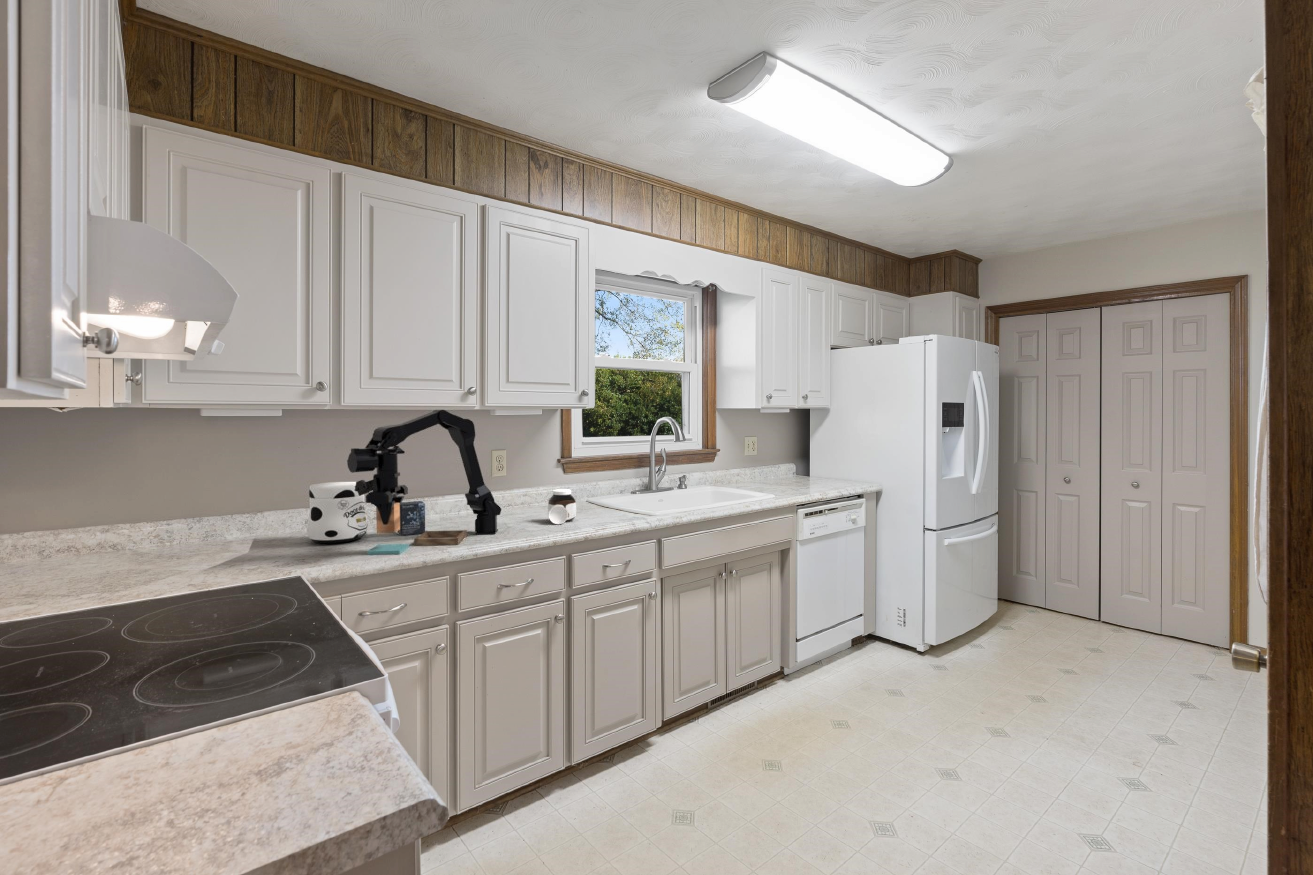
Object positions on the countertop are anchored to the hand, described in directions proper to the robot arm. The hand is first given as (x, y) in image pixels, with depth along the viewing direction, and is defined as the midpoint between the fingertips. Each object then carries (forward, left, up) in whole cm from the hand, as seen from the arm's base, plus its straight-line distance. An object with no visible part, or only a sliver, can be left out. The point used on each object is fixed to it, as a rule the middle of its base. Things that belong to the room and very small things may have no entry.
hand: (388, 522), depth 181 cm
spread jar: (-48, -43, -9) cm, 65 cm away
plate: (0, 0, -8) cm, 8 cm away
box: (+1, -26, -9) cm, 27 cm away
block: (0, 0, -3) cm, 2 cm away
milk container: (+21, -17, -9) cm, 28 cm away
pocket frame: (-12, -13, -8) cm, 19 cm away
